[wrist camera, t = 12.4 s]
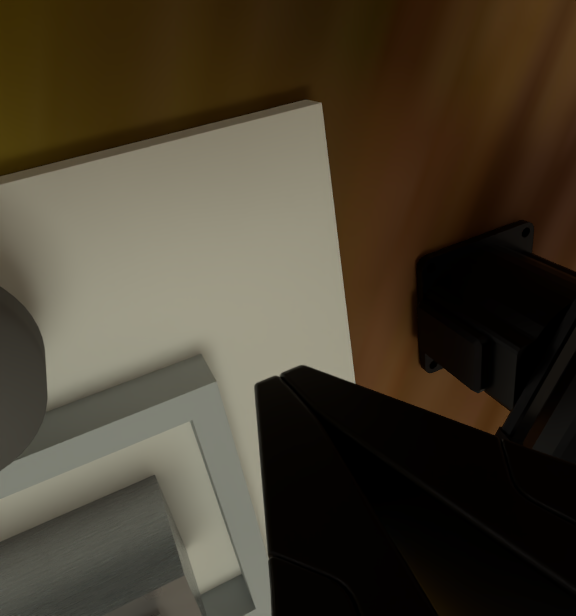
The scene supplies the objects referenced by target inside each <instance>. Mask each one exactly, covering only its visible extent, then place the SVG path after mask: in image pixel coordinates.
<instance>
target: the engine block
mask: <svg viewBox="0 0 576 616" xmlns="http://www.w3.org/2000/svg"><path fill="white" fill-rule="evenodd" d="M0 616H207V614H206V611H205V608H204V605H203V601H202V598H201V595H200V592H199V589H198V585H197V582H196V579H195V576H194V573H193V569H192V566H191V563H190V560H189V557H188V553H187V550H186V548H185V545H184V543H183V540H182V538H181V536H180V533H179V531H178V529H177V526H176V524H175V521H174V519H173V517H172V514H171V512H170V509H169V507H168V505H167V502H166V500H165V497H164V495H163V493H162V490H161V488H160V485H159V483H158V481H157V478H156V476H155V475H153V476H150V477H148V478H146V479H144V480H141V481H139V482H137V483H134V484H132V485H130V486H127V487H125V488H123V489H120V490H118V491H116V492H114V493H111V494H109V495H107V496H104V497H102V498H100V499H97V500H95V501H93V502H91V503H88V504H86V505H84V506H81V507H79V508H77V509H74V510H72V511H70V512H68V513H65V514H63V515H61V516H58V517H56V518H54V519H51V520H49V521H47V522H44V523H42V524H40V525H38V526H35V527H33V528H31V529H28V530H26V531H24V532H21V533H19V534H17V535H15V536H12V537H10V538H8V539H5V540H3V541H1V542H0Z"/></svg>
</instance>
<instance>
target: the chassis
mask: <svg viewBox="0 0 576 616" xmlns="http://www.w3.org/2000/svg"><path fill="white" fill-rule="evenodd" d="M0 287H2V288H3V289H5V290H6V291H8V292H9V293H10V294H12V295H13V296H14V297H15V298H16V299H17V300H18V301H19V302H20V303H22V304H23V305H24V306H25V308H26V309H27V310H28V312H29V313H30V314H31V315H32V317H33V318H34V320H35V322H36V324H37V325H38V327H39V330H40V332H41V335H42V338H43V342H44V347H45V359H46V376H47V396H48V399H47V407H46V412H45V416H44V419H43V422H42V424H41V426H40V429H39V431H38V433H37V434H36V436H35V437H34V439H33V440H32V442H31V443H30V445H29V446H28V447H27V448H26V449H25V450H24V452H23V453H22V454H21V455H20V456H19V457H18V458H16V459H15V460H14V461H13V462H12V463H11V464H9V465H8V466H7V467H5V468H4V469H3V470H1V471H0V542H1V541H3V540H5V539H8V538H10V537H12V536H15V535H17V534H19V533H21V532H24V531H26V530H28V529H31V528H33V527H35V526H38V525H40V524H42V523H44V522H47V521H49V520H51V519H54V518H56V517H58V516H61V515H63V514H65V513H68V512H70V511H72V510H74V509H77V508H79V507H81V506H84V505H86V504H88V503H91V502H93V501H95V500H97V499H100V498H102V497H104V496H107V495H109V494H111V493H114V492H116V491H118V490H120V489H123V488H125V487H127V486H130V485H132V484H134V483H137V482H139V481H141V480H144V479H146V478H148V477H150V476H153V475H155V476H156V478H157V481H158V483H159V485H160V488H161V490H162V493H163V495H164V497H165V500H166V502H167V505H168V507H169V509H170V512H171V514H172V517H173V519H174V521H175V524H176V526H177V529H178V531H179V533H180V536H181V538H182V540H183V543H184V545H185V548H186V550H187V553H188V557H189V560H190V563H191V566H192V569H193V573H194V576H195V579H196V582H197V585H198V589H199V592H200V595H201V598H202V601H203V605H204V608H205V611H206V614H207V616H271V595H270V580H269V568H268V560H269V558H268V552H267V540H266V527H265V515H264V503H263V491H262V479H261V467H260V455H259V443H258V430H257V418H256V406H255V394H254V385H255V384H256V383H257V382H259V381H262V380H264V379H267V378H269V377H272V376H275V375H276V376H280V374H281V373H282V372H284V371H286V370H289V369H291V368H294V367H296V366H299V365H306V366H309V367H311V368H314V369H317V370H320V371H322V372H325V373H328V374H330V375H333V376H336V377H338V378H341V379H344V380H346V381H349V382H352V383H355V376H354V368H353V360H352V351H351V343H350V335H349V326H348V318H347V310H346V302H345V293H344V285H343V277H342V268H341V260H340V252H339V243H338V235H337V227H336V218H335V210H334V202H333V193H332V185H331V177H330V168H329V160H328V152H327V143H326V135H325V127H324V118H323V110H322V103H320V102H316V101H311V100H302V101H298V102H294V103H290V104H286V105H282V106H278V107H275V108H271V109H267V110H263V111H259V112H255V113H251V114H247V115H243V116H239V117H235V118H231V119H227V120H223V121H219V122H215V123H211V124H207V125H203V126H199V127H195V128H191V129H187V130H183V131H179V132H175V133H171V134H167V135H163V136H159V137H155V138H151V139H147V140H143V141H139V142H135V143H131V144H127V145H123V146H119V147H115V148H111V149H107V150H103V151H99V152H95V153H91V154H87V155H83V156H79V157H75V158H71V159H67V160H63V161H59V162H55V163H51V164H48V165H44V166H40V167H36V168H32V169H28V170H24V171H20V172H16V173H12V174H8V175H4V176H0Z"/></svg>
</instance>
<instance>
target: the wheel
mask: <svg viewBox="0 0 576 616" xmlns="http://www.w3.org/2000/svg"><path fill="white" fill-rule="evenodd" d="M47 399H48V396H47V376H46V359H45V347H44V342H43V338H42V335H41V332H40V330H39V327H38V325H37V324H36V322H35V320H34V318H33V317H32V315H31V314H30V313H29V312H28V310H27V309H26V308H25V306H24V305H23V304H22V303H20V302H19V301H18V300H17V299H16V298H15V297H14V296H13V295H12V294H10V293H9V292H8V291H6V290H5V289H3V288H2V287H0V471H1V470H3V469H4V468H5V467H7V466H8V465H9V464H11V463H12V462H13V461H14V460H15V459H16V458H18V457H19V456H20V455H21V454H22V453H23V452H24V450H25V449H26V448H27V447H28V446H29V445H30V443H31V442H32V440H33V439H34V437H35V436H36V434H37V433H38V431H39V429H40V426H41V424H42V422H43V419H44V416H45V412H46V407H47Z"/></svg>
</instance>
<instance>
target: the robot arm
mask: <svg viewBox="0 0 576 616" xmlns="http://www.w3.org/2000/svg"><path fill="white" fill-rule="evenodd" d="M522 231H523V232H522ZM533 234H534V226H533V224H532V223H530V222H527V221H524V220H520V221H517V222H515V223H512V224H509V225H507V226H504V227H501V228H498V229H496V230H493V231H490V232H488V233H485V234H482V235H479V236H477V237H474V238H471V239H469V240H466V241H463V242H460V243H458V244H455V245H452V246H450V247H447V248H444V249H441V250H439V251H436V252H433V253H430V254H428V255H425V256H424V257H422V258H421V259H420V260H419V262H418V264H417V287H418V307H417V314H418V339H419V349H420V364H421V367H422V368H423V369H424V370H425V371H426V372H428V373H433V372H436V371H438V370H440V369H442V368H444V369H446V370H447V371H448V372H449V373H451V374H452V375H453V376H454V377H456V378H457V379H458V380H460V381H461V382H462V383H463V384H465V385H466V386H467V387H468V388H470V389H471V390H473V391H475V392H477V393H480V392H482V391H485V392H486V393H487V394H488V395H490V396H491V397H492V398H494V399H495V400H496V401H498V402H499V403H500V404H501V405H503V406H504V407H505V408H507V409H508V410H509V411H511V412H510V414H509V415H508V417H507V419H506V421H505V423H504V424H503V426H502V427H499V429H498V430H497V432H496V434H495V435H492V434H490V433H487V432H484V431H481V430H479V429H476V428H473V427H471V426H468V425H465V424H463V423H460V422H457V421H454V420H452V419H449V418H446V417H444V416H441V415H438V414H436V413H433V412H430V411H427V410H425V409H422V408H419V407H417V406H414V405H411V404H409V403H406V402H403V401H400V400H398V399H395V398H392V397H390V396H387V395H384V394H382V393H379V392H376V391H373V390H371V389H368V388H365V387H363V386H360V385H357V384H355V383H352V382H349V381H346V380H344V379H341V378H338V377H336V376H333V375H330V374H328V373H325V372H322V371H320V370H317V369H314V368H311V367H309V366H306V365H299V366H296V367H294V368H291V369H289V370H286V371H284V372H282V373H281V374H280V376H276V375H275V376H272V377H269V378H267V379H264V380H262V381H259V382H257V383H256V384H255V385H254V394H255V406H256V418H257V430H258V443H259V455H260V467H261V479H262V491H263V503H264V515H265V527H266V540H267V552H268V558H269V560H268V568H269V580H270V595H271V616H576V272H575V271H573V270H570V269H568V268H566V267H563V266H561V265H559V264H556V263H554V262H551V261H549V260H547V259H544V258H542V257H540V256H537V255H535V254H532V246H533ZM429 264H430V267H429V268H428V269H427V267H428V265H429ZM430 363H431V364H430Z"/></svg>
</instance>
